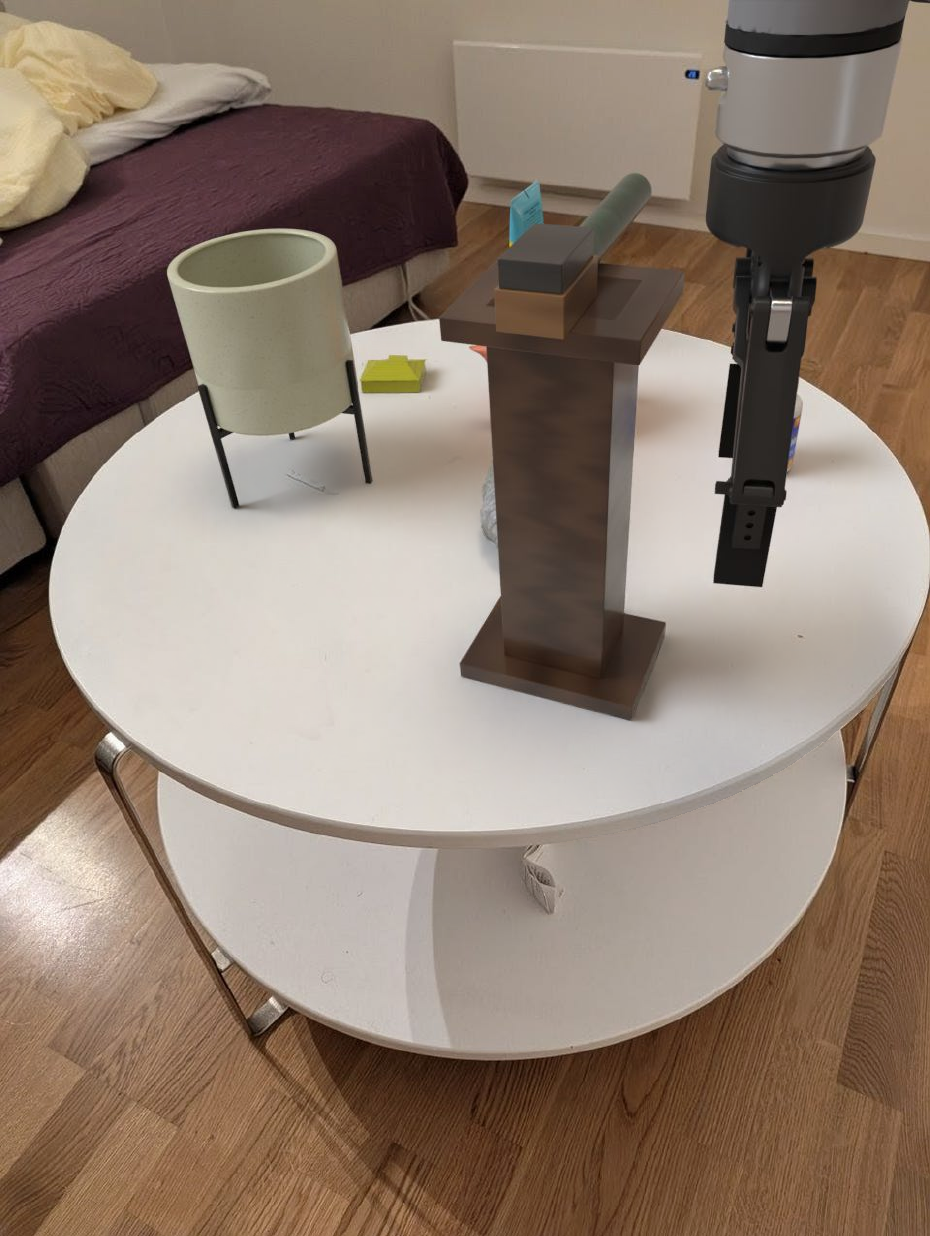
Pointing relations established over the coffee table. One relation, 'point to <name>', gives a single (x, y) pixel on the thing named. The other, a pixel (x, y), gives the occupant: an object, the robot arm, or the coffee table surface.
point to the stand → (566, 492)
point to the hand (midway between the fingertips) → (738, 513)
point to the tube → (525, 211)
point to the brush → (562, 265)
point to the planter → (267, 335)
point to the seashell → (489, 508)
